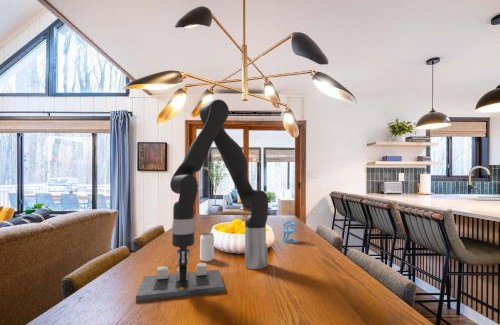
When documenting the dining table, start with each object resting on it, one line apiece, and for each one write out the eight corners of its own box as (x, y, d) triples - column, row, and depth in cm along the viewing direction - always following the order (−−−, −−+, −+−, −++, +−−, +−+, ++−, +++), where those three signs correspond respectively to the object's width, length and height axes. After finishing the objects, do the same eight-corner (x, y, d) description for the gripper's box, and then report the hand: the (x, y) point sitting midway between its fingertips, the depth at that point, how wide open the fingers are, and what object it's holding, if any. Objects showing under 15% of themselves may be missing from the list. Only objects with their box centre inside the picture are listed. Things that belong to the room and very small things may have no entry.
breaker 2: (206, 272, 98) (206, 262, 99) (206, 274, 96) (206, 264, 96) (196, 273, 98) (196, 262, 98) (196, 275, 95) (196, 265, 95)
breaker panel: (218, 274, 102) (218, 269, 102) (224, 292, 87) (224, 285, 87) (143, 281, 96) (144, 275, 96) (135, 302, 80) (135, 295, 80)
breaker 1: (168, 275, 95) (168, 265, 95) (167, 278, 93) (167, 267, 93) (157, 276, 94) (158, 266, 94) (157, 279, 92) (157, 268, 92)
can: (211, 262, 117) (211, 235, 118) (197, 261, 118) (198, 235, 119) (215, 257, 124) (215, 232, 124) (203, 257, 125) (203, 232, 125)
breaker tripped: (187, 277, 94) (187, 266, 94) (187, 280, 91) (187, 268, 92) (177, 278, 93) (177, 267, 93) (177, 281, 90) (177, 269, 91)
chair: (280, 240, 156) (280, 220, 157) (293, 239, 158) (293, 220, 159) (285, 243, 149) (285, 223, 150) (298, 242, 151) (298, 222, 152)
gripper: (195, 234, 84) (194, 288, 83) (193, 226, 97) (193, 273, 96) (171, 236, 82) (170, 291, 81) (173, 228, 95) (172, 275, 94)
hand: (182, 281), depth 89 cm, fingers closed
